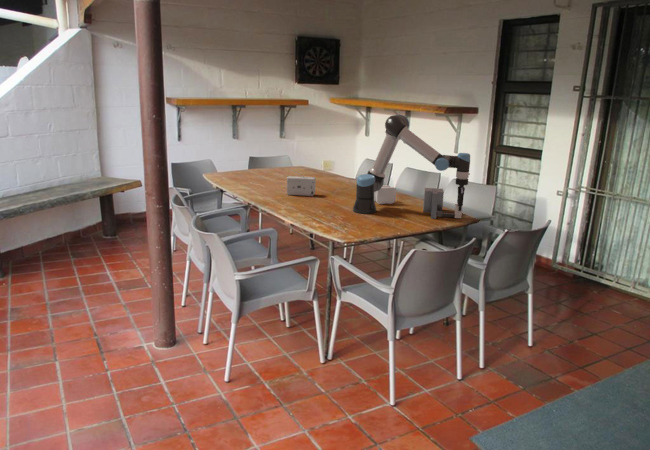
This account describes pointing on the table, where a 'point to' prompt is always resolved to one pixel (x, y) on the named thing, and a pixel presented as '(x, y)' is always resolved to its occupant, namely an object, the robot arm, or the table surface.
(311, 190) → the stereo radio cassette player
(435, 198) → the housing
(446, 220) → the table surface
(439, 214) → the plug
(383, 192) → the cable organizer
